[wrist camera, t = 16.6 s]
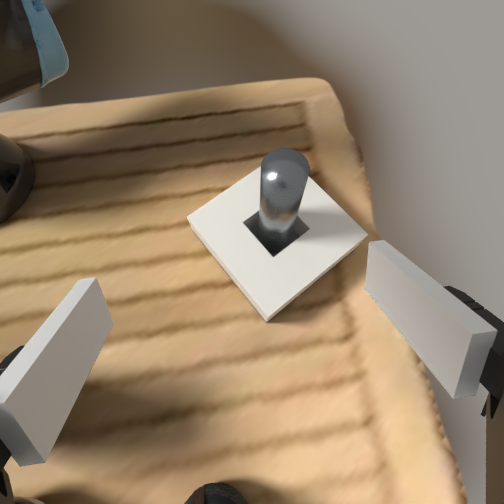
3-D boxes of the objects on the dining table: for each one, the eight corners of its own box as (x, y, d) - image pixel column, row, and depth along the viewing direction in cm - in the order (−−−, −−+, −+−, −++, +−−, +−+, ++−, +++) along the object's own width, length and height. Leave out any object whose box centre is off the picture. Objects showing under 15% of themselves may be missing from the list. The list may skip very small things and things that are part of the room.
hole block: (194, 233, 40) (186, 217, 35) (279, 173, 43) (282, 150, 38) (266, 322, 36) (267, 317, 31) (354, 249, 39) (368, 234, 34)
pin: (252, 236, 39) (250, 165, 24) (275, 219, 39) (287, 140, 25) (272, 259, 37) (282, 198, 23) (295, 241, 38) (320, 171, 24)
